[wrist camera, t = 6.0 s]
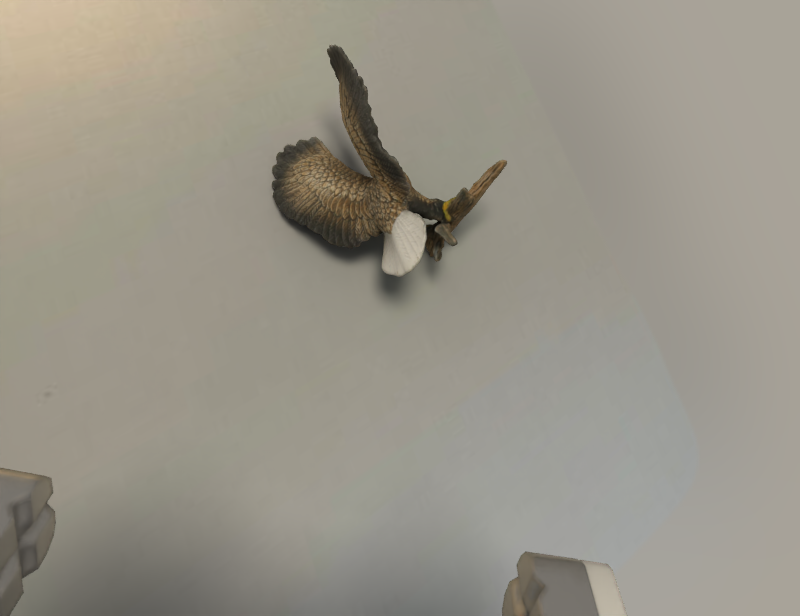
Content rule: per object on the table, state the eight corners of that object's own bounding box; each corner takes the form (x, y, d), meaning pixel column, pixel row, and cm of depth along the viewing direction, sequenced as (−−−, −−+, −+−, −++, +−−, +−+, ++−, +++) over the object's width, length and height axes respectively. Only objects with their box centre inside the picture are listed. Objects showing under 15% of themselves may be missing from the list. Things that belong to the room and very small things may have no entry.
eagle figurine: (498, 154, 31) (341, 40, 30) (520, 171, 24) (317, 23, 23) (408, 280, 33) (257, 179, 32) (404, 328, 26) (212, 201, 25)
